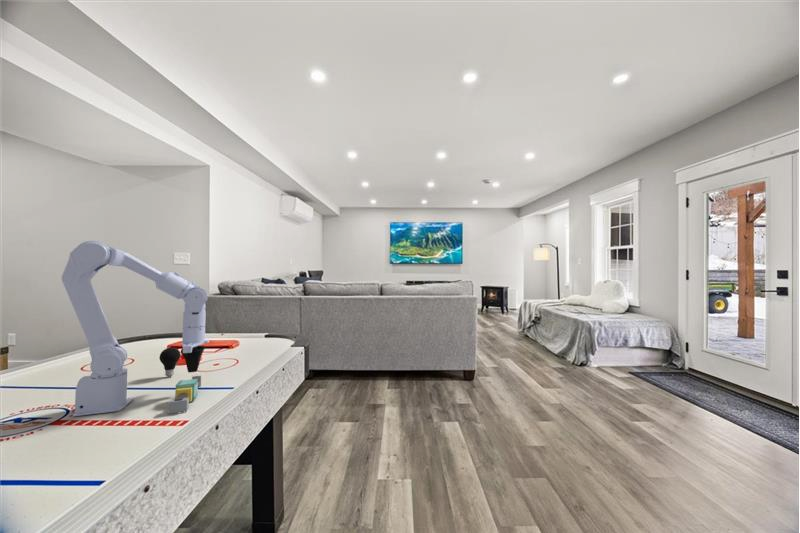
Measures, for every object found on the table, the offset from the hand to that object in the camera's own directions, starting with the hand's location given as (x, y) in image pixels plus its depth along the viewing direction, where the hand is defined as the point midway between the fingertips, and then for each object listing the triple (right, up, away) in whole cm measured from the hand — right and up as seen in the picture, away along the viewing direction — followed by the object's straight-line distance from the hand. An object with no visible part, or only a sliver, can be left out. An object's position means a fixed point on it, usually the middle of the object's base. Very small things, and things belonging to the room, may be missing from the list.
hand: (192, 371), depth 94 cm
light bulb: (-17, -7, +14) cm, 23 cm away
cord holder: (+2, -6, -5) cm, 8 cm away
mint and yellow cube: (+2, -6, -6) cm, 9 cm away
